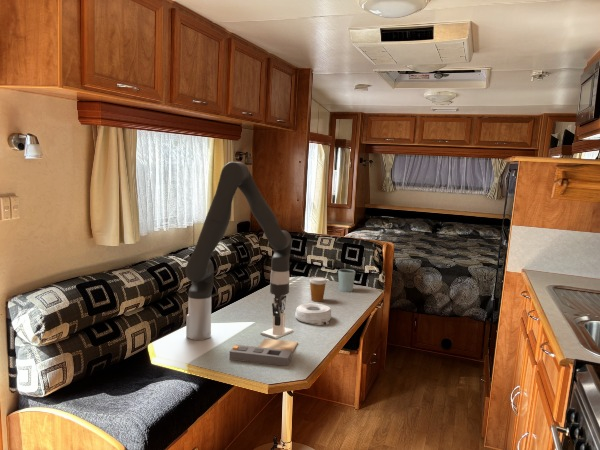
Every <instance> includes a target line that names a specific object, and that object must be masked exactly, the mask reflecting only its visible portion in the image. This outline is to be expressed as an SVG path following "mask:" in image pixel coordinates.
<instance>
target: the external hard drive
mask: <svg viewBox="0 0 600 450" xmlns="http://www.w3.org/2000/svg"><path fill="white" fill-rule="evenodd" d="M293 332H294V329H293V328H288V327H286V326H285V333H284V334H283V336H286V335H288V334H291V333H293ZM260 336H264V337H267V338H269V339H273V340H278V338H281V337H283V336H280V335H273V327H271V328H269V329H267V330H264V331H261V332H260Z"/></svg>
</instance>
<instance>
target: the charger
mask: <svg viewBox="0 0 600 450" xmlns="http://www.w3.org/2000/svg"><path fill="white" fill-rule="evenodd" d="M272 316H273V315H272ZM285 327H286V313H285V312H284V313H281V321H280V326H276V325H275V316H273V317H272V328H273V335H280V336H281V337H283V334H284V333H285Z"/></svg>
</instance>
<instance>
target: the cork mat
mask: <svg viewBox="0 0 600 450" xmlns="http://www.w3.org/2000/svg"><path fill="white" fill-rule="evenodd" d="M298 344H299V342H298V341H291V340H290V341H289V340H280V339H273V338H264V339H263V340H262V341H261V342H260V343H259V345H258V346H257V347H262V348H271V349H279V350H288V351H292V353H294V351H295V349H296V348H297V345H298Z"/></svg>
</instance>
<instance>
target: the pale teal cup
mask: <svg viewBox="0 0 600 450" xmlns="http://www.w3.org/2000/svg"><path fill="white" fill-rule="evenodd" d="M337 272H338V273H337V274H338V276H337V277H338V278H337V279H338V287H337V288H338V289H337V290H338V291H340V292H343V293H351V292H353V290H354V283H355V276H356V271H355V270H354V269H349V268H340V269H338V271H337Z"/></svg>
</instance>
